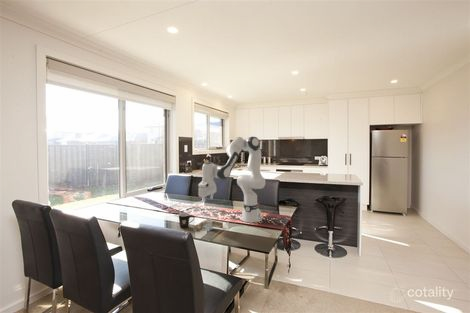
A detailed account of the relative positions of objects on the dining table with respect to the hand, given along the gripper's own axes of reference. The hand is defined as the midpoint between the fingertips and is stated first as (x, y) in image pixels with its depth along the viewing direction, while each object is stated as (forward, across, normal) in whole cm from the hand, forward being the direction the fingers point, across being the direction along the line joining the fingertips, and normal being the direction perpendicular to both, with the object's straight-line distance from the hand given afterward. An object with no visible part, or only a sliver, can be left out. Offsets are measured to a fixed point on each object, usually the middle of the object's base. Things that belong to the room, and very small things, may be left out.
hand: (208, 200), depth 184 cm
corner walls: (+22, +2, +2) cm, 22 cm away
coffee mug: (+22, +8, -16) cm, 28 cm away
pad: (+22, +3, +1) cm, 22 cm away
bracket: (+22, +3, +1) cm, 22 cm away
